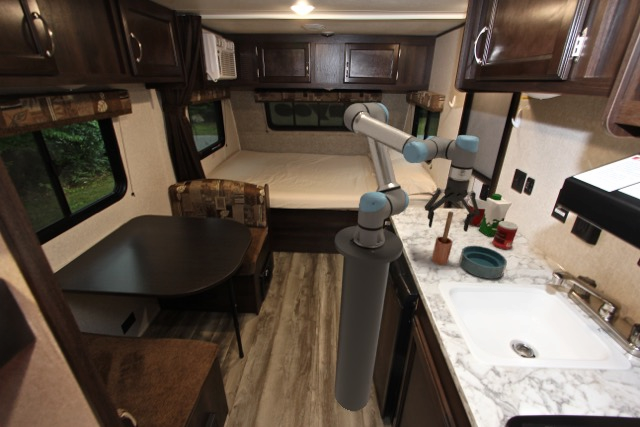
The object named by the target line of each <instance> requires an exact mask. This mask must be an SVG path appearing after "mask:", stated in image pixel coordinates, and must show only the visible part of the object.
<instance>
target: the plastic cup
mask: <svg viewBox="0 0 640 427" xmlns="http://www.w3.org/2000/svg"><path fill="white" fill-rule="evenodd" d="M475 199H476V198H475ZM476 203H477V206H478V209H479V213H480V215H479V216H475V217H474V218H473V221H472V223H471V224H470V225H472V226H480V225H481V223H482V219H483V216H484V213H485V209H486V204H487V200H483V199H476ZM467 204H468V206H469V207H470V209H471V210H472V212H475V211H474V208H473V204H472V201H471V199H469V200H468V201H467ZM468 214H469V213H468ZM469 215H470V214H469Z"/></svg>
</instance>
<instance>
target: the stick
mask: <svg viewBox="0 0 640 427" xmlns="http://www.w3.org/2000/svg"><path fill="white" fill-rule="evenodd" d="M453 217H454V212H453V211H448V213H447V217H446V221H445V224H444V229H443V234H442V237H443V238H442V242H441V243H445V244H446V241H447V238H449V233H450V228H451V224H452V221H453Z"/></svg>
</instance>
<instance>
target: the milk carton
mask: <svg viewBox="0 0 640 427" xmlns="http://www.w3.org/2000/svg"><path fill="white" fill-rule="evenodd" d="M486 202H487V204H486V209H485V213H484V216H483V219H482V221H481V223H480V225H479V228H478V231H479V232H481V233H482V234H484V235H485V236H487V237H495V233H496V230H497V227H498V224H499V222H501V221H505V219H506V216H507V213H508V211H509V209H510V207H511V206H512V202H510V201H508V200H507V199H504V198H503V195H502V194H499V193H492V196H491V197H487V198H486Z"/></svg>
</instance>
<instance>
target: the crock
mask: <svg viewBox="0 0 640 427" xmlns="http://www.w3.org/2000/svg"><path fill="white" fill-rule="evenodd" d="M442 238H443V236H437V237H436V238H435V241H434V245H433V246H434V247H433V251H432V255H431V260H432V262H433V263H434V264H437V265H440V266H444V265H447V264H448V262H449V259H450V255H451V251H452V247H453V243H454V242H453V240H452V239H451V238H449V237H447V241H446V244H445V243H441V242H442Z"/></svg>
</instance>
